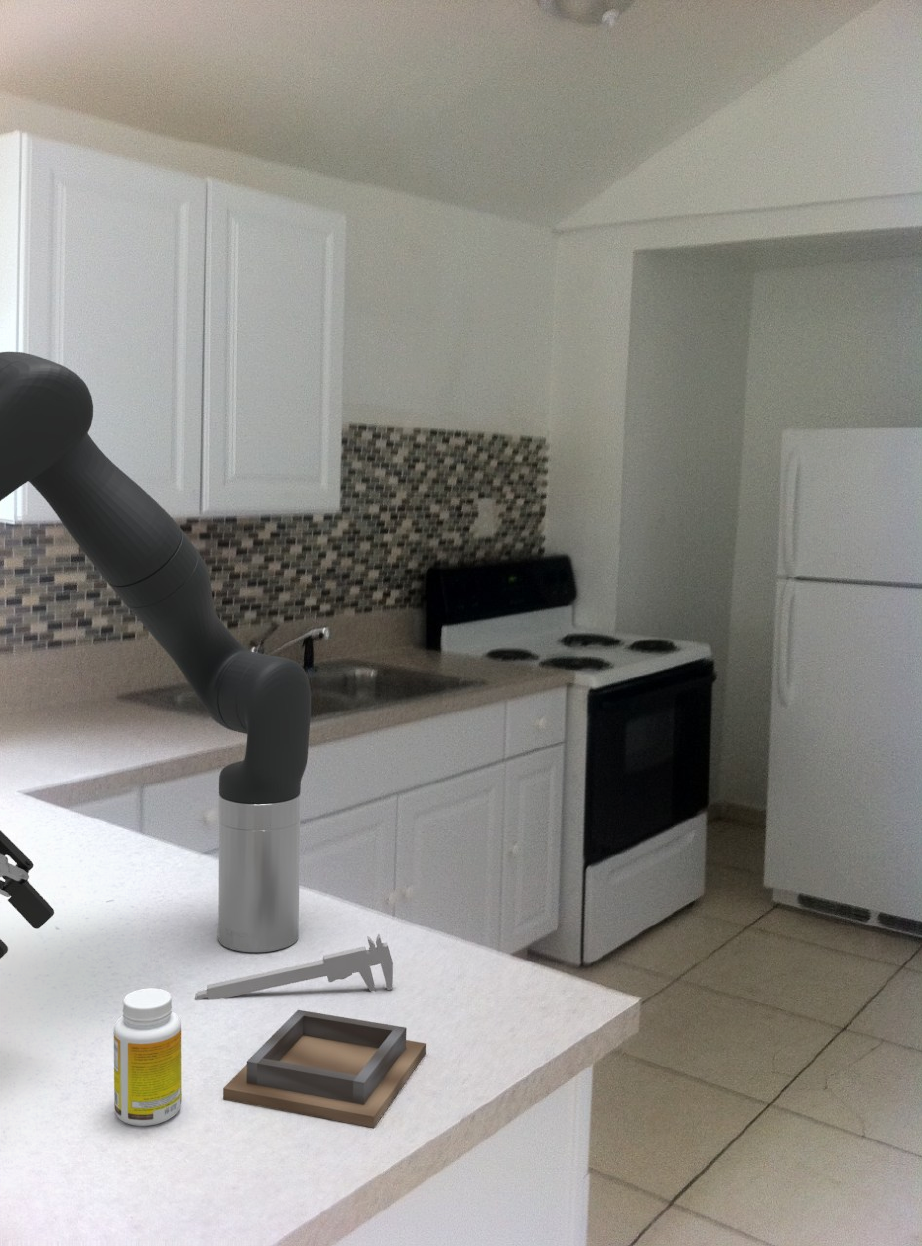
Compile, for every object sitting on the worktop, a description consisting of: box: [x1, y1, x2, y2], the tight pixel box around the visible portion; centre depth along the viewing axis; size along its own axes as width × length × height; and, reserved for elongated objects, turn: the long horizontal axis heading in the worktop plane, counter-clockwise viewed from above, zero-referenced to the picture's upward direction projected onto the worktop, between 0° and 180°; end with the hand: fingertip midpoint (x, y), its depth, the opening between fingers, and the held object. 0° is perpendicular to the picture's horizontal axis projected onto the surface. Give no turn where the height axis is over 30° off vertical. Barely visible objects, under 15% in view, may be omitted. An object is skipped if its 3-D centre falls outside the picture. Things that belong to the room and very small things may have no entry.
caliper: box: [194, 933, 394, 1001], centre depth 130 cm, size 20×1×6 cm, turn 100°
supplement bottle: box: [113, 987, 183, 1127], centre depth 106 cm, size 6×6×10 cm
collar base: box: [222, 1009, 427, 1129], centre depth 113 cm, size 14×14×3 cm
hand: (24, 939), depth 106 cm, fingers open, 8 cm apart
